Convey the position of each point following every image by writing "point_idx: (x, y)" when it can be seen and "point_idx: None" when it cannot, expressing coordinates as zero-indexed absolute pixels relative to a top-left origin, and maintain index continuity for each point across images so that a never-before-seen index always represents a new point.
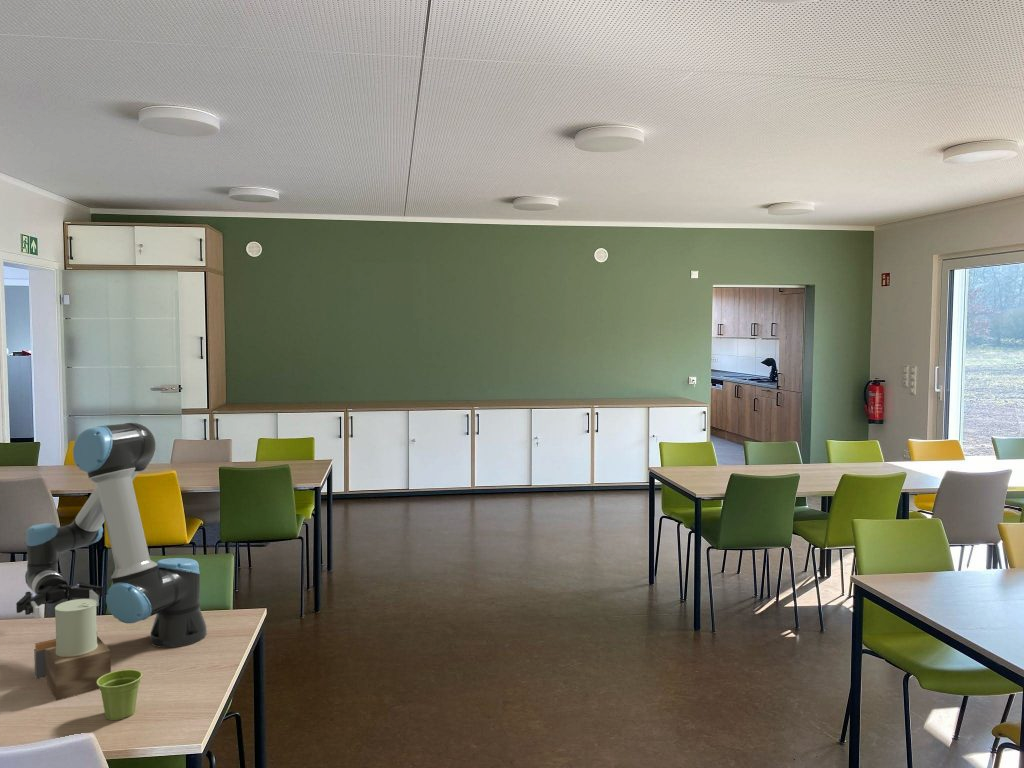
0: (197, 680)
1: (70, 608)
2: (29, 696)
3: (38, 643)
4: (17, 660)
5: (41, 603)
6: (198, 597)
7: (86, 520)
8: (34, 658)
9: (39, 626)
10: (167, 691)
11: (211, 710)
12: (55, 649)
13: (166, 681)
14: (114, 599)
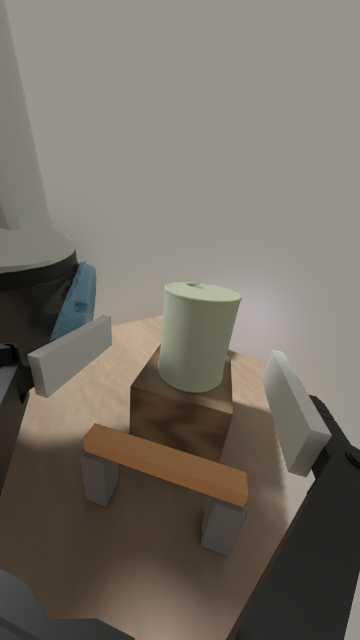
0: (112, 338)
1: (216, 290)
2: (248, 439)
3: (239, 483)
4: None
5: (246, 604)
6: None
7: None
8: (239, 530)
9: None
10: (140, 342)
11: (149, 318)
12: (216, 394)
13: (124, 352)
14: (89, 312)
